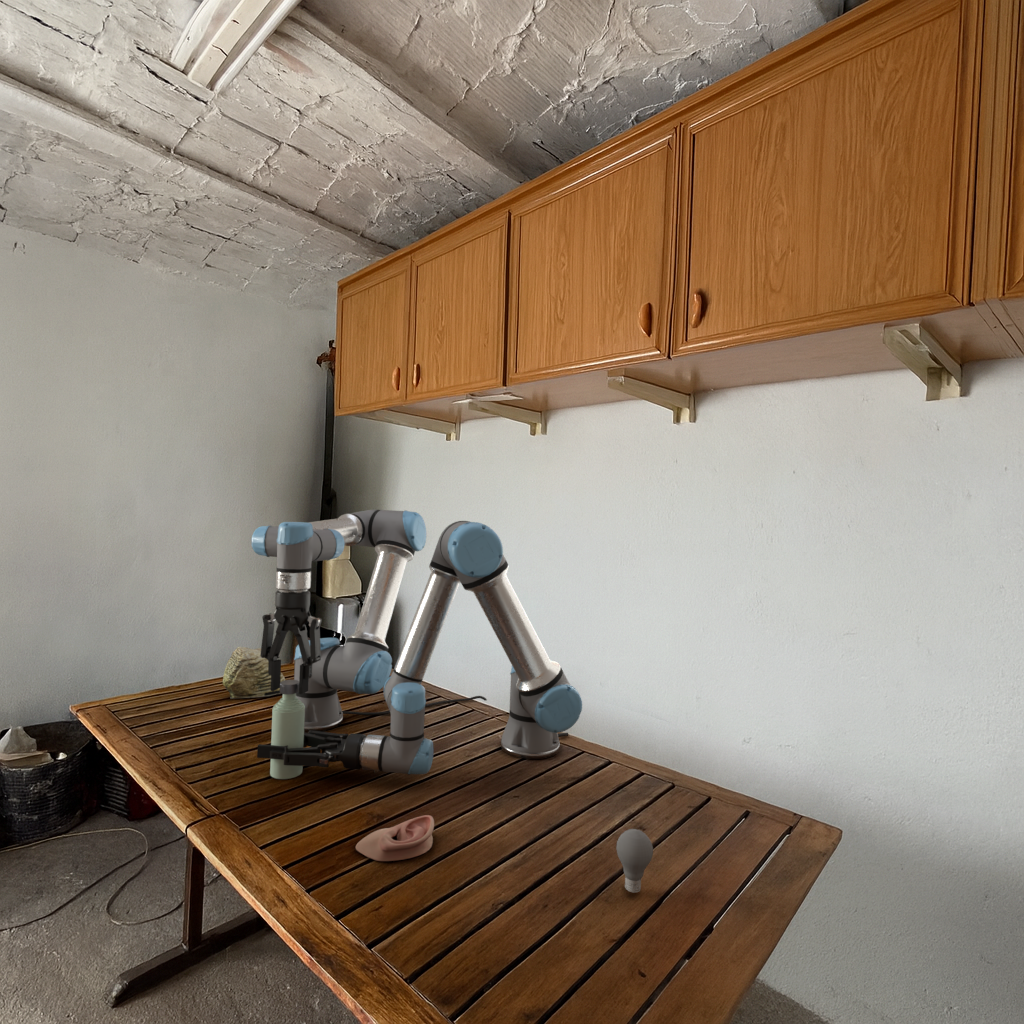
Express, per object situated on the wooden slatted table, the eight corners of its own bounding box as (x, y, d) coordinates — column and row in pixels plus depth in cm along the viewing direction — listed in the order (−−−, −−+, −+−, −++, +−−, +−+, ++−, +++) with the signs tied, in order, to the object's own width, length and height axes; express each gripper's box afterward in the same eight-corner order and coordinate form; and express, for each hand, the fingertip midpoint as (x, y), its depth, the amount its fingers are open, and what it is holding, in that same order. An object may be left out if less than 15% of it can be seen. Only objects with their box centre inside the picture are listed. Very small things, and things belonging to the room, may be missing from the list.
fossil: (218, 695, 195) (220, 647, 195) (278, 685, 208) (279, 640, 207) (228, 703, 189) (230, 653, 188) (289, 692, 201) (290, 645, 201)
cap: (275, 691, 144) (276, 681, 144) (292, 687, 147) (293, 678, 147) (285, 695, 141) (286, 686, 141) (302, 692, 145) (303, 682, 144)
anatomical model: (348, 834, 112) (375, 804, 123) (347, 856, 112) (374, 824, 123) (419, 845, 109) (440, 813, 120) (418, 868, 109) (439, 834, 121)
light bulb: (610, 879, 108) (613, 822, 108) (644, 879, 109) (647, 822, 109) (619, 902, 102) (622, 840, 102) (655, 901, 103) (658, 840, 103)
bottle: (278, 782, 140) (281, 691, 139) (264, 771, 145) (268, 684, 144) (307, 773, 145) (311, 685, 144) (293, 763, 150) (297, 678, 149)
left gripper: (244, 589, 142) (241, 691, 143) (324, 595, 138) (320, 700, 139) (264, 584, 149) (260, 682, 150) (340, 590, 146) (336, 690, 146)
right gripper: (348, 788, 133) (243, 779, 135) (376, 751, 153) (284, 744, 155) (349, 753, 133) (244, 744, 135) (377, 720, 153) (286, 713, 155)
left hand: (289, 690), depth 144 cm, fingers open, 6 cm apart
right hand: (266, 744), depth 145 cm, fingers closed on bottle, 7 cm apart
